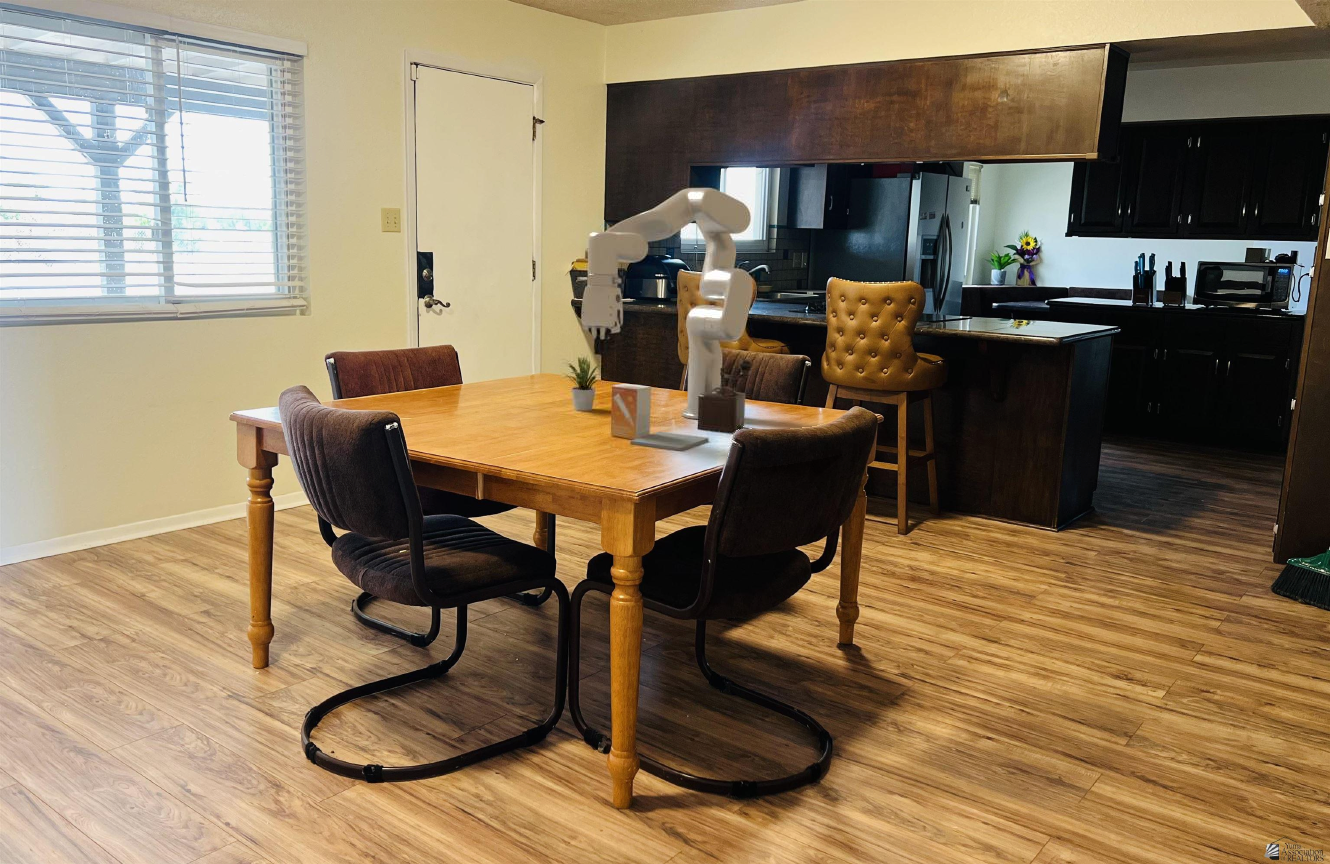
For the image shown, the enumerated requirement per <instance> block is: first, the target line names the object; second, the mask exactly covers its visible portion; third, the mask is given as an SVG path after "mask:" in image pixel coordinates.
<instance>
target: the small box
mask: <svg viewBox="0 0 1330 864" xmlns="http://www.w3.org/2000/svg"><path fill="white" fill-rule="evenodd" d="M651 396H652V387H651V386H647V385H641V384H630V383H621V384H616V385H611V411H610V412H611V414H610V423H611V424H610V436H612V437H619V438H623V439H629V440H635V439H638V438H641V437H644V436H647V435H651V403H652V402H651V401H652V400H651V399H652V397H651Z"/></svg>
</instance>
